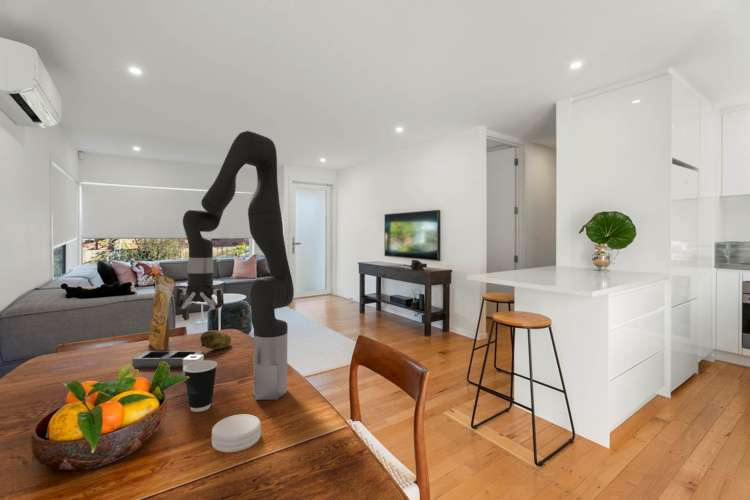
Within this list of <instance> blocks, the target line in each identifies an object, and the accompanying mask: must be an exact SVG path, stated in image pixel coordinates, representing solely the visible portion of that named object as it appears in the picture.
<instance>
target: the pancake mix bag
mask: <svg viewBox="0 0 750 500" xmlns="http://www.w3.org/2000/svg"><path fill="white" fill-rule="evenodd" d="M176 282H177V281H176V280H175V279H173V278H171V277H167V276H164V275H158V274H156V275H155V276H154V296H153V297H154V298H153V305H152V309H151V310H152V311H151V318H150V319H151V320H150V329H149V335H148V342H149V346H150V347H152V348H153V349H154V351H167V350H168V349H169V347H170V346H169V343H170V325H169V324H170V323H169V310H170V305H171V300H172V296H173V293H174V290H175V288H176Z"/></svg>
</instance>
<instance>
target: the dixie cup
mask: <svg viewBox="0 0 750 500" xmlns="http://www.w3.org/2000/svg"><path fill="white" fill-rule="evenodd" d="M217 366H218V362H216V361H215V360H209V359H207V360H205V359H204V361H197V362H192V363H190V364H187V365H186V366H184V368H182V370H183V369H184V371H185V376H189V377H190V378H189V379H187V380H186V379H185V384H186V391H187V400H188V406H189V407H190V411H191V412H204V411H207V410H208V409H210V408H211V407H212V403H213V399H214V390H215V389H214V388H215V381H216V372H217V371H216V370H217ZM185 376H184V377H185ZM210 406H211V407H210Z"/></svg>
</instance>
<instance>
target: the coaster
mask: <svg viewBox="0 0 750 500" xmlns="http://www.w3.org/2000/svg"><path fill="white" fill-rule="evenodd" d="M261 425H262V424H261V420H260V418H258V417H257V416H255V415H252V414H250V413H249V414H248V413H247V414H245V413H242V414H241V413H240V414H234V415H231V416H227V417H225V418H222V419H220V420H219V421H218V422H217V423H215V424H214V426H213V427H212V429H211V446H212V448H213V449H214V450H216V451H218V452H221V453H236V452H240V451H243V450H246V449H248V448H251V447H253V446H254V445H256V443H258V441H259V440H260V438H261V435H262V434H261V430H262V426H261Z"/></svg>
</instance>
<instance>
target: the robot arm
mask: <svg viewBox="0 0 750 500" xmlns="http://www.w3.org/2000/svg"><path fill="white" fill-rule="evenodd" d="M228 149H229V150H228V152H227V154H226V156H225V158H224V160H223V163H222V166H221V167H220V170H219V172H218V174H217V176H216V178H215V180H214V182H213V183H212V185H211V186H210V187H209V189H208V190H207V191H206V192H205V195H203V197H202V199H201V202H200V203H201V206H202V208H203V209H204V210H203V209H188V210H187V211H185V213H184V215H183V217H182V225H183V230H184V233H185V236H186V240H187V242H188V260H187V281H186V282H187V288H184V287H180V288H177V289H176V297H175V298H176V299H175V300H176V301H175V306H176V308H181V312H182V313H181V314H182V316H181V317H182V319H183V320H184V321H189V319H190V306H191V304H192V303H198V302H199V303H206V304H207V305H208V306H209V307H210V309H211V310H210V321H212V322H214V321H216V319H217V318H218V310H219V309H220V308H222V307H224V305H225V304H224V302H225V301H224V300H225V299H224V289H223V288H218V289H217V288H216V289H214V260H213V256H214V255H213V254H214V253H213V250H214V249H213V241H212V240H211V239H208V238H204V237H203V235H202V233H203V232H206V233H211V232H213V231H215V230H216V229H217V228H218V227H219V226H220V223H221V219H222V216H223V213H224V211H225V209H226V208H227V207H228V205H229V204H230V203H231V201H232V200H233V198H234V196H235V194H236V188H237V186H236V185H237V176H238V173H239V172H240V170H241V169H242V168H243V167H244V166H245V165H249V166H253V167H255V169H256V170H255V171H256V178H257V183H256V184H257V185H256V189H255V191H254V193H253V195H252V197H251V200H250V202H249V204H248V207H247V208H248V209H247V217H248V224H249V225H248V227H249V232H250V235H251V237H252V239H253V240H254V243H255V244H256V245H257V247H258V248H259V250H260V251H261V253H262V254H263V256H264V257H265V259H266V261H267V264H268V269H269V276H265V277H259V278H256V279H255V280H254V281H253V282H252V285H251V288H250V293H249V294H250V295H249V296H250V297H249V298H250V303H249V304H250V317H251V318H250V319H251V320H250V321H251V325H252V328H253V396H254V399H255V400H256V401H257V400H260V401H261V400H262V401H263V400H266V401H268V400H271V401H272V400H279V398H280V397H283V396H284V395H286V394H287V392H288V329H289V328H288V326H289V325H288V322H286V321H285V320H282V319H277V318H276V314H275V313H276V311H275V310H276V309H281V308H286V307H288V306H290V305H291V303H292V302H293V300H294V294H295V291H294V290H295V289H294V283H293V277H292V274H291V269H290V266H289V261H288V256H287V250H286V244H285V236H284V229H283V227H284V225H283V218H282V211H281V210H282V209H281V206H280V205H281V203H280V197H279V196H280V193H279V183H278V157H277V156H278V154H277V148H276V145H275V143H274V141H273V140H272V139H270V137H267V136H265V135H262V134H260V133H257V132H253V131H250V130H243V131H241V132H239V133H238V134H237V135H236V137H235V138H234V140H233V142H232V143H231V145H230V147H229V148H228ZM186 294H187V296H188V298H187V299H184V298H185V295H186ZM213 295H215V296H216V300H215V298H214V297H213ZM184 300H185V301H184Z"/></svg>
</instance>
